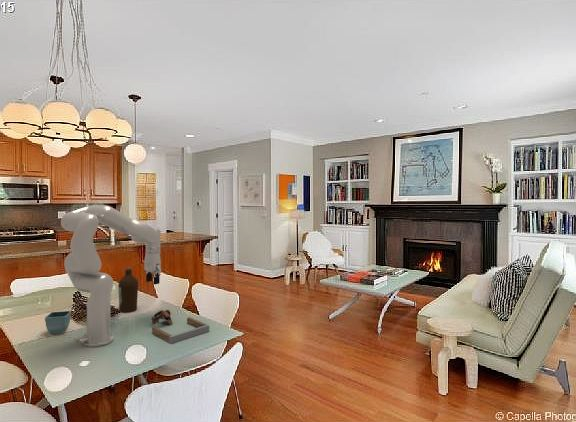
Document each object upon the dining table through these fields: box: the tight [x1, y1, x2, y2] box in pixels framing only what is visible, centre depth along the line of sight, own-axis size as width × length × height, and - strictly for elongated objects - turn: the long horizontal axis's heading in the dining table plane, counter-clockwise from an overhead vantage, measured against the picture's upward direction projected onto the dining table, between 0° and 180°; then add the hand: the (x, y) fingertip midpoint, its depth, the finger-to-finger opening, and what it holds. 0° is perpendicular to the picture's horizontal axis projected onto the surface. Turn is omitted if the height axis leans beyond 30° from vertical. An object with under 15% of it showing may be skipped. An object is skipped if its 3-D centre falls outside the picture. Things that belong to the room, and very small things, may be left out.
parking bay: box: [151, 316, 210, 344], centre depth 171 cm, size 21×18×3 cm
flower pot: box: [44, 310, 72, 335], centre depth 167 cm, size 9×9×9 cm
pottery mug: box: [150, 309, 173, 326], centre depth 183 cm, size 12×10×8 cm
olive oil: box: [117, 267, 139, 314], centre depth 202 cm, size 11×11×25 cm
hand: (152, 282), depth 189 cm, fingers open, 7 cm apart
